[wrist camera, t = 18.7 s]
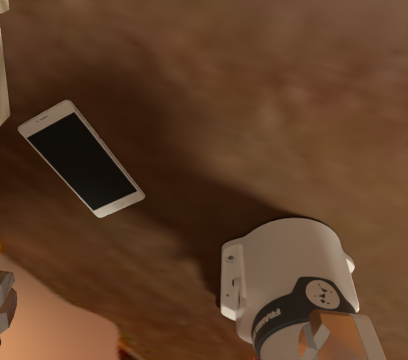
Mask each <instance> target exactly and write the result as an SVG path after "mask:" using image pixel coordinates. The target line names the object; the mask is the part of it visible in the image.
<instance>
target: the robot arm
mask: <svg viewBox="0 0 408 360" xmlns="http://www.w3.org/2000/svg"><path fill="white" fill-rule="evenodd" d="M354 268H355V267H354V263H353V260H352V259H351V258H350V257H349V256H348V255H347V254H346V253H345V252H344V251H343V249H342V247H341V243H340V240H339V238H338V237H337V235H336V234H335V233H334V231H332V230H331V229H330V228H329V227H327V226H326V225H324V224H322V223H320V222H317V221H314V220H310V219H304V218H286V219H280V220H276V221H272V222H269V223H266V224H264V225H262V226H260V227H258V228H256V229H255V230H253V231H252V232H250V233H249V234H248V235H246V236H244V237H242V238H238V239H235V240H232V241H229V242H227V243H225V244H224V245H223V246H222V255H221V295H220V308H221V313H222V314H223V315H224V316H226V317H228V318H230V319H232V320H235V321H236V328H237V334H238V335H239V337H240V338H242V339H243V340H245V341H246V342H249V343H251V344H253V347H254V350H255V351H256V354H257V357H258V358H254V359H253V360H386V357H385V355H384V352H383V350H382V347H381V345H380V343H379V340H378V338H377V335H376V333H375V330H374V328H373V325H372V323H371V320H370V319H369V318H368V317H367V316H365V315H358V314H356V313H357V312H358V311H359V303H358V299H357V296H356V292H355V288H354V284H353V281H352V277H351V273H352V272H353V270H354ZM14 281H15V280H14V274H13V273H12V272H6V271H0V334H1V333H2V332H3V331H5V330H6V329H7V328H9V326H10V323H11V321H12V319H13V317H14V313H15V310H16V306H17V292H16V291H15V290H14V289H13V288H12V285H13V283H14ZM0 345H1V340H0Z"/></svg>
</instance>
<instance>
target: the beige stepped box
mask: <svg viewBox="0 0 408 360" xmlns="http://www.w3.org/2000/svg"><path fill="white" fill-rule="evenodd" d="M8 10H9V2H8V0H0V13H4V12H6V11H8ZM9 116H10V107H9V98H8V90H7V81H6V72H5V64H4V55H3V46H2V38H1V29H0V126H1V125H2V124H3V123H4V121H5V120H6V119H7V118H8V117H9Z"/></svg>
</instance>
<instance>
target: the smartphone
mask: <svg viewBox="0 0 408 360" xmlns="http://www.w3.org/2000/svg"><path fill="white" fill-rule="evenodd" d="M69 101H70V100H64V101H62V102H60V103H58V104H57V105H55V106H53V107H51V108H49V109H48V110H46V111H44V112H42V113H41V114H39V115H37V116H35V117H34V118H32V119H30V120H28V121H26V122H25V123H23V124H21V125H19V126H18V131H19V133H20V134H21V135H22V136H23V137H24V138H25V139H26V140H27V141H28V142H29V143H30V144H31V145H32V147H33V148H34V149H35V150H36V151H37V152H38V153H39V154H40V155H41V156H42V157H43V159H44V160H45V161H46V162H47V163H48V164H49V165H50V166H51V167H52V168H53V169H54V171H55V172H56V173H57V174H58V175H59V176H60V177H61V178H62V179H63V180H64V181H65V182H66V184H67V185H68V186H69V187H70V188H71V189H72V190H73V191H74V192H75V193H76V194H77V196H78V197H79V198H80V199H81V200H82V201H83V202H84V203H85V204H86V205H87V206H88V208H89V209H90V210H91V211H92V212H93V213H94V214H95V215H96V216H97V217H99V218H102V217H104V216H106V215H109V214H111V213H113V212H115V211H118V210H120V209H122V208H125V207H127V206H129V205H131V204H134V203H136V202H138V201H141V200H143V199H144V198H145V194H144V193H143V192H142V190H141V189H140V188H139V186H138V185H137V184H136V183H135V181H134V180H133V179H132V178H131V176H130V175H129V174H128V172H127V171H126V170H125V169H124V167H123V166H122V165H121V164H120V162H119V161H118V160H117V159H116V157H115V156H114V155H113V153H112V152H111V151H110V150H109V148H108V147H107V146H106V144H105V143H104V142H103V140H102V139H100V138H99V135H98V134H97V133H96V132H95V130H94V129H93V128H92V126H91V125H90V124H89V123H88V121H86V119H85V118H84V117H83V115H82V114H81V113H80V112H79V110H78V109H77V108H76V107H75V105H74V104H73V103H72V102H71V101H70V102H69ZM68 102H69V103H68Z"/></svg>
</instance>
